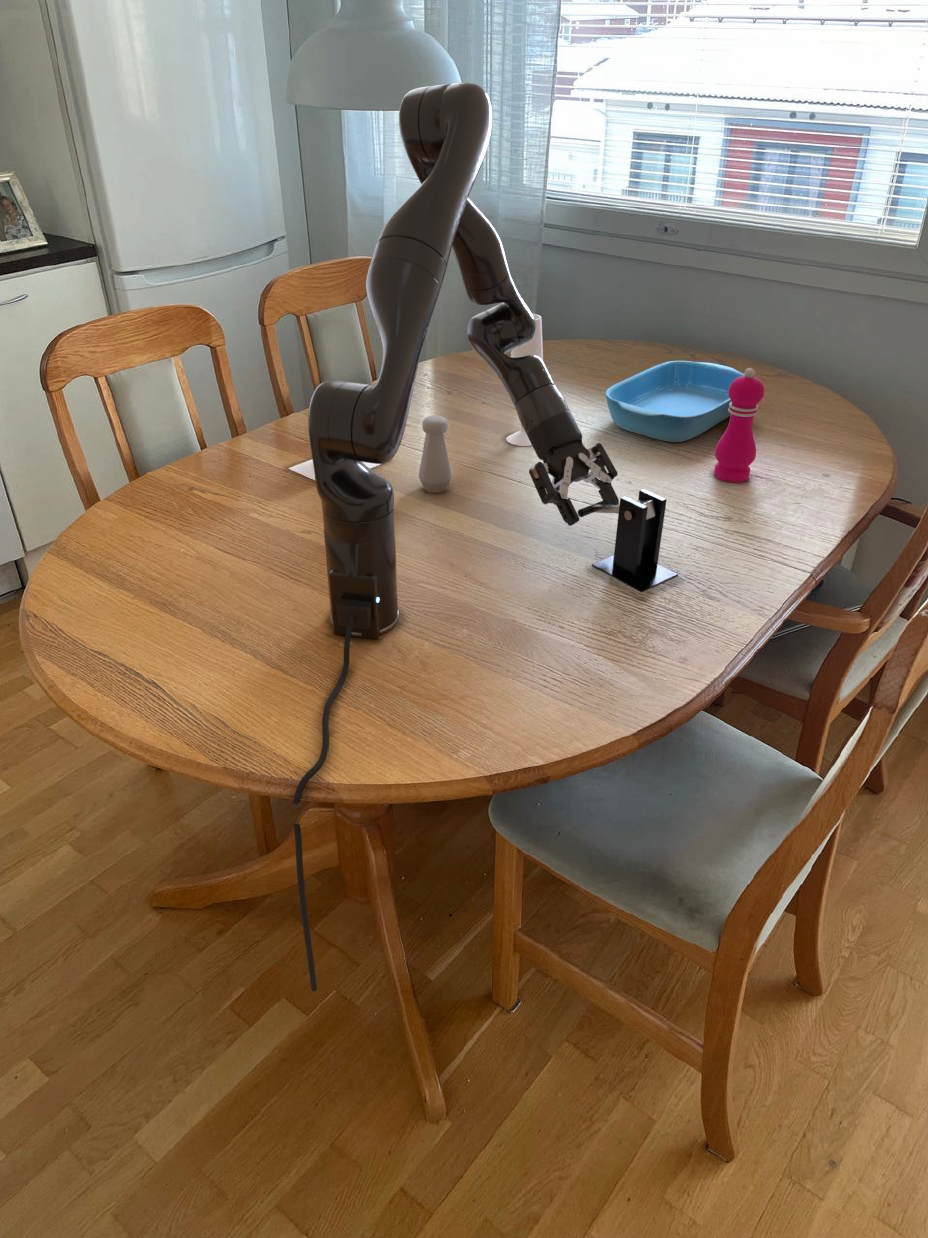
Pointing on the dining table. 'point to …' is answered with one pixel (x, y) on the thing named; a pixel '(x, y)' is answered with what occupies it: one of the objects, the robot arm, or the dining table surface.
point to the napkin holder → (308, 468)
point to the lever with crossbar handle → (614, 508)
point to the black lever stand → (638, 544)
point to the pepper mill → (739, 429)
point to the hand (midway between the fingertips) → (594, 515)
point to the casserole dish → (673, 400)
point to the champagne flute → (526, 349)
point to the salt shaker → (435, 456)
